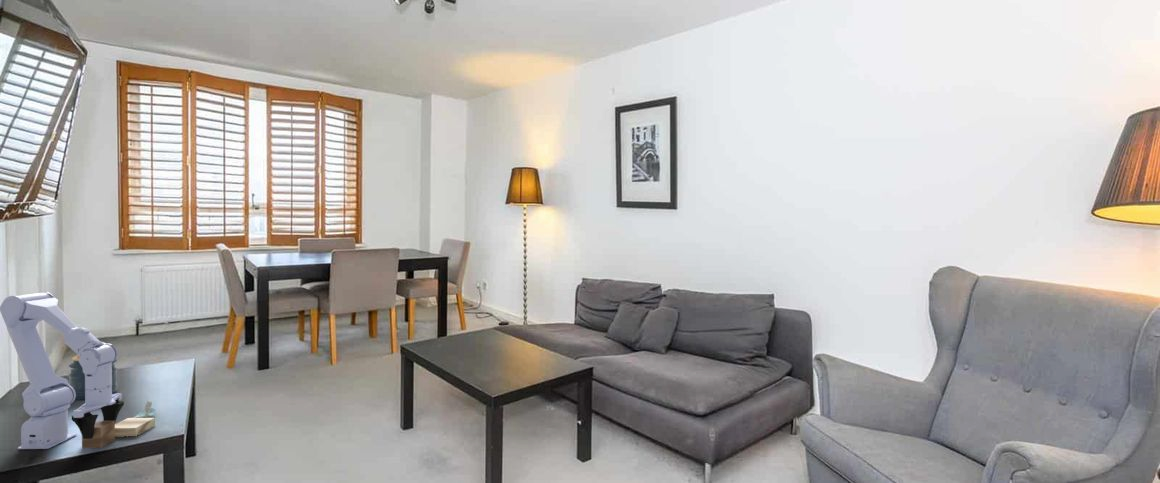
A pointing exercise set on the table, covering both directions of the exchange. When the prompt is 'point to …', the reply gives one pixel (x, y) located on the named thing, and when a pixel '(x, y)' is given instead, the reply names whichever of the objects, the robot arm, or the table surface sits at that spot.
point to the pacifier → (146, 411)
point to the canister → (79, 378)
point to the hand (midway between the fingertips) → (98, 432)
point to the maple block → (133, 426)
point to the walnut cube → (100, 435)
